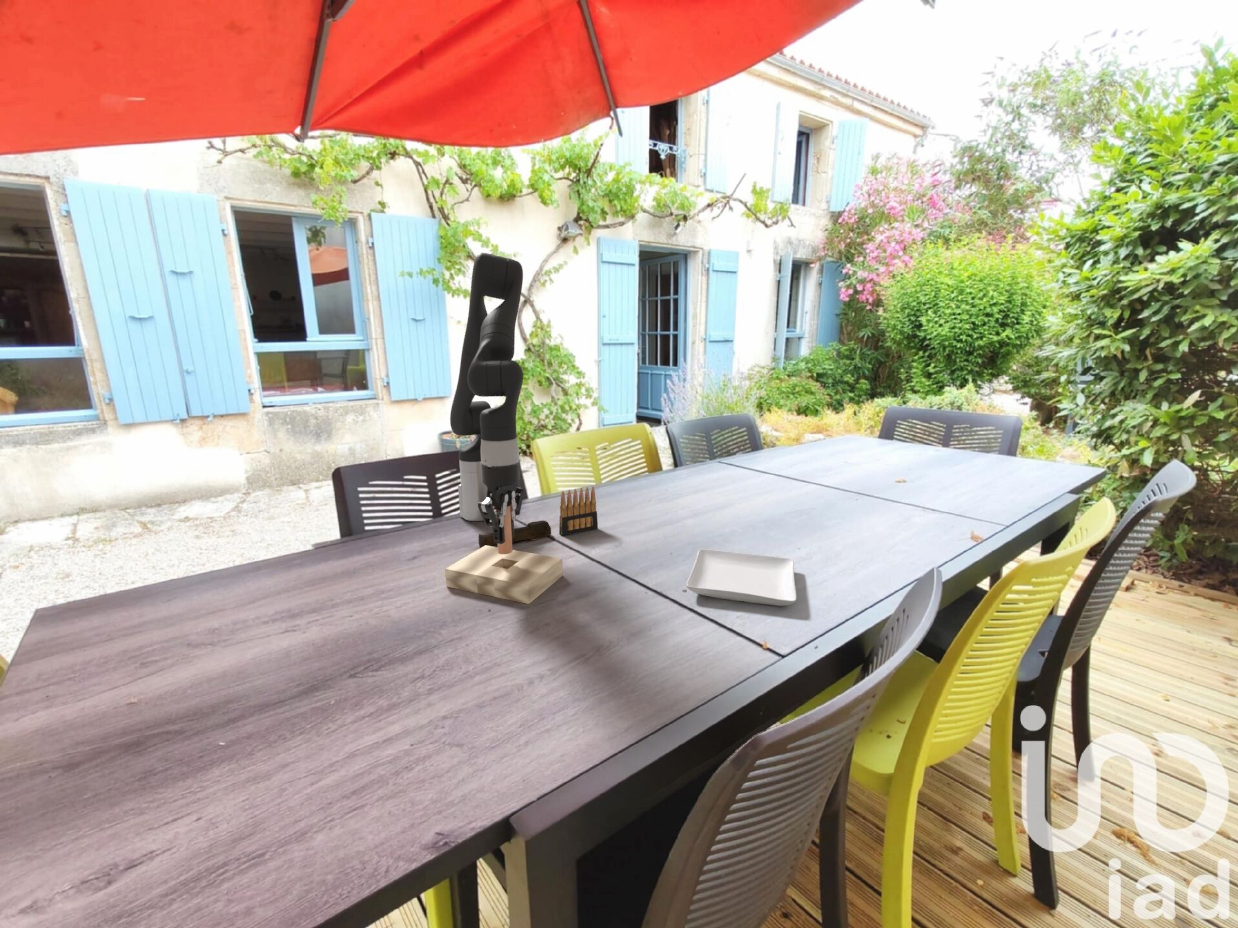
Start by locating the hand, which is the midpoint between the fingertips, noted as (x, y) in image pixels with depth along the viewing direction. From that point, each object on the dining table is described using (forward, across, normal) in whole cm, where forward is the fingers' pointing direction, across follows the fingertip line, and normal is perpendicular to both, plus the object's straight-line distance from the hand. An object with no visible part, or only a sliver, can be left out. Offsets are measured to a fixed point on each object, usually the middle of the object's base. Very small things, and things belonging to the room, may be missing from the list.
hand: (504, 539), depth 115 cm
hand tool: (+10, -20, -11) cm, 25 cm away
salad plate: (+10, -18, +47) cm, 51 cm away
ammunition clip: (+10, -33, +1) cm, 34 cm away
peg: (+3, 0, 0) cm, 3 cm away
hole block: (+9, 0, 0) cm, 9 cm away
